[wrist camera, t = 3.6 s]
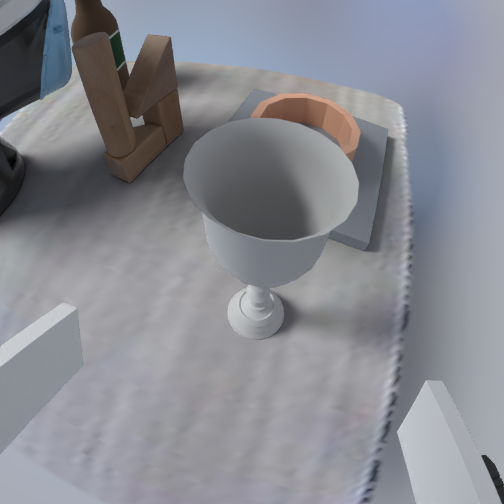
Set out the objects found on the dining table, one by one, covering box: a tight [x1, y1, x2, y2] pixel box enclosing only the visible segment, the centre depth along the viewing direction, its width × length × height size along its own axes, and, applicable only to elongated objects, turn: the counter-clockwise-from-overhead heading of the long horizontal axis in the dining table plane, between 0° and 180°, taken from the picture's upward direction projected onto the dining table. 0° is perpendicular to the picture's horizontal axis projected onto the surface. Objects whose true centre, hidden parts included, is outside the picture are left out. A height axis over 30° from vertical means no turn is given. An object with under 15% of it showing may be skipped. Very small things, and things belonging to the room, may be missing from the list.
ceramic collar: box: [250, 93, 361, 162], centre depth 35 cm, size 12×12×4 cm
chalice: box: [183, 118, 359, 340], centre depth 21 cm, size 7×7×18 cm
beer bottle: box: [71, 0, 129, 91], centre depth 36 cm, size 8×8×24 cm
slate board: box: [229, 89, 388, 251], centre depth 37 cm, size 20×20×2 cm
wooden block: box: [72, 32, 184, 183], centre depth 30 cm, size 4×11×18 cm, turn 150°
